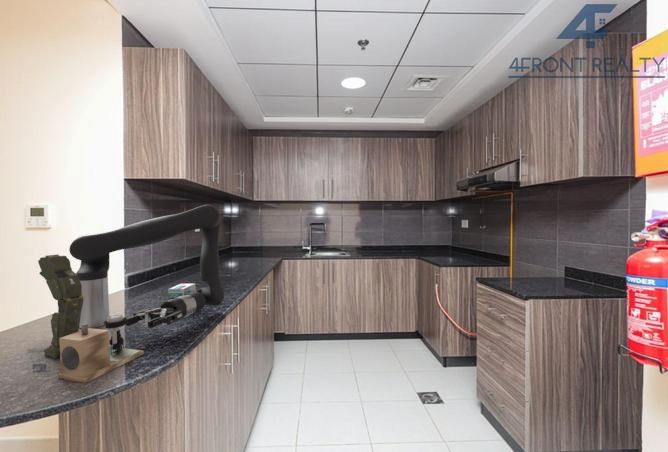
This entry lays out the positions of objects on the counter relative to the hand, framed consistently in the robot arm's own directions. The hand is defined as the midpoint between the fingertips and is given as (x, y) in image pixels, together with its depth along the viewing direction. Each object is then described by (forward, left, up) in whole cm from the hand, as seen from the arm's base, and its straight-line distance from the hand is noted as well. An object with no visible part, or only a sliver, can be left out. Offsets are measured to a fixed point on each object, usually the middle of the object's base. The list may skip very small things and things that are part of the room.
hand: (137, 323), depth 93 cm
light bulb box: (-15, +35, -8) cm, 38 cm away
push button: (-2, -6, -7) cm, 9 cm away
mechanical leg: (-19, -7, -8) cm, 22 cm away
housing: (0, -10, -8) cm, 13 cm away
